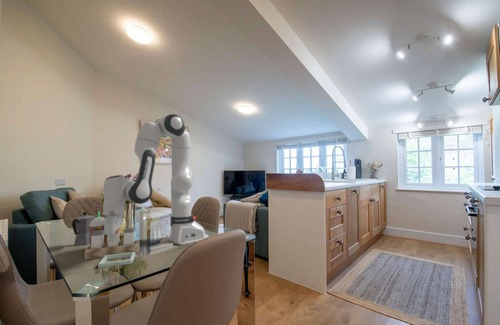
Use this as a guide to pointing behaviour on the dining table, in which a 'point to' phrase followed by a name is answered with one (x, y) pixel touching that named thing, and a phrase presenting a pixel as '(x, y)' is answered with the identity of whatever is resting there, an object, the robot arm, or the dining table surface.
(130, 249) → the socket strip
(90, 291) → the dining table surface
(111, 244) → the block
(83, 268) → the dining table surface
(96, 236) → the block
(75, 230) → the coffeepot
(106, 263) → the tray
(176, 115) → the robot arm
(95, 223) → the smoothie
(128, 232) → the block
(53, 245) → the dining table surface
